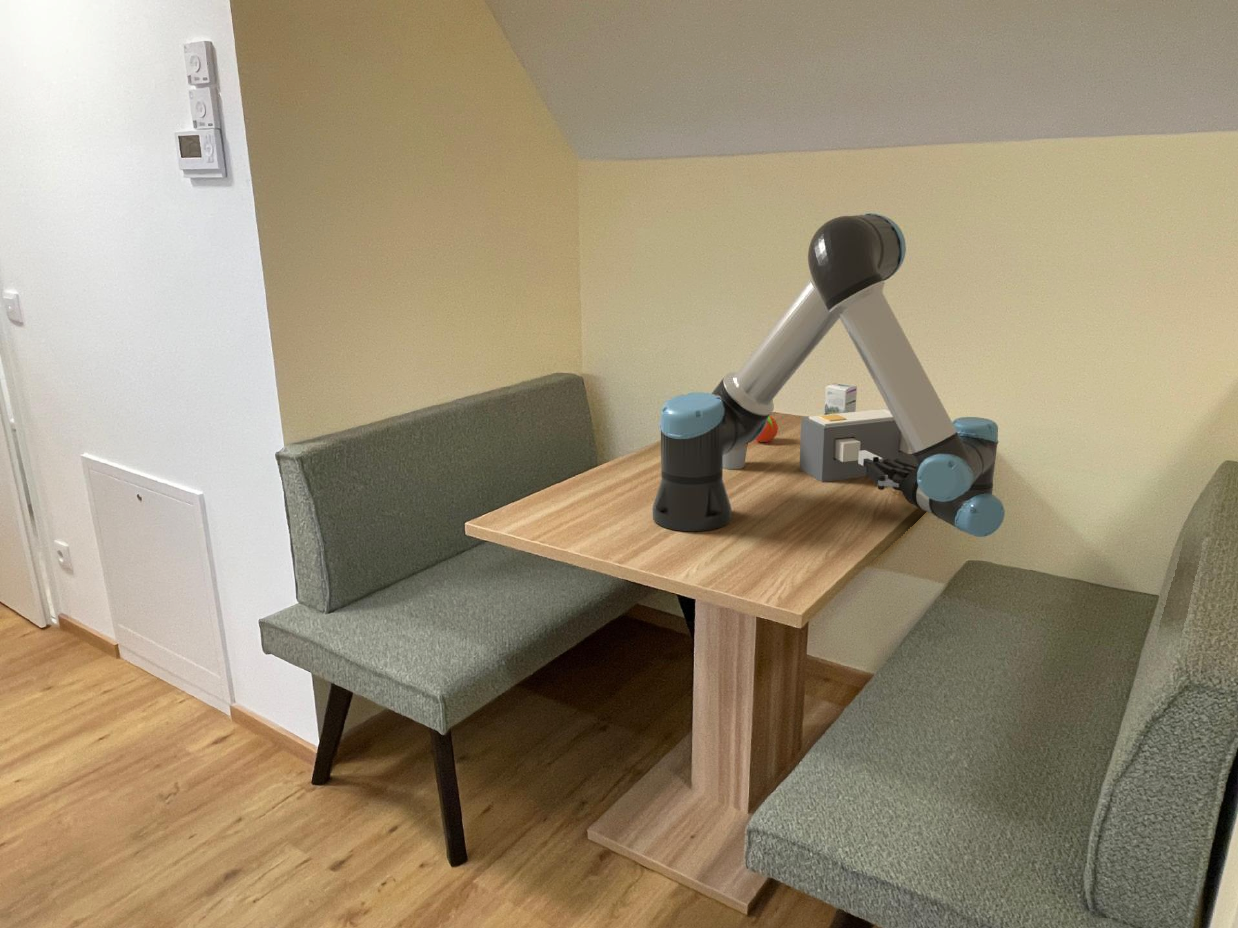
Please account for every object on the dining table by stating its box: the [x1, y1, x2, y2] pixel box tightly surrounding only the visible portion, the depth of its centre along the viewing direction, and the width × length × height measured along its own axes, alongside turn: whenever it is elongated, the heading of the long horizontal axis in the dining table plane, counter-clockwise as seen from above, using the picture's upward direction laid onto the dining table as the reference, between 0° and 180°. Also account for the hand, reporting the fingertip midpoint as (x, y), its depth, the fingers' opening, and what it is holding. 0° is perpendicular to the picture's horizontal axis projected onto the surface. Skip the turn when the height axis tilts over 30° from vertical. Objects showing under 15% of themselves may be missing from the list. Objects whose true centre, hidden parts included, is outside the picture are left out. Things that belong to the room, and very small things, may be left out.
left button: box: [834, 437, 860, 462], centre depth 188 cm, size 6×4×4 cm
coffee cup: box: [723, 443, 749, 470], centre depth 200 cm, size 9×9×15 cm
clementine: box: [754, 415, 779, 443], centre depth 219 cm, size 8×7×7 cm
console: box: [798, 407, 918, 483], centre depth 196 cm, size 10×26×13 cm, turn 107°
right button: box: [899, 431, 913, 454], centre depth 193 cm, size 6×4×4 cm
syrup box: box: [823, 382, 858, 415], centre depth 216 cm, size 6×6×14 cm
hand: (861, 456), depth 182 cm, fingers closed
